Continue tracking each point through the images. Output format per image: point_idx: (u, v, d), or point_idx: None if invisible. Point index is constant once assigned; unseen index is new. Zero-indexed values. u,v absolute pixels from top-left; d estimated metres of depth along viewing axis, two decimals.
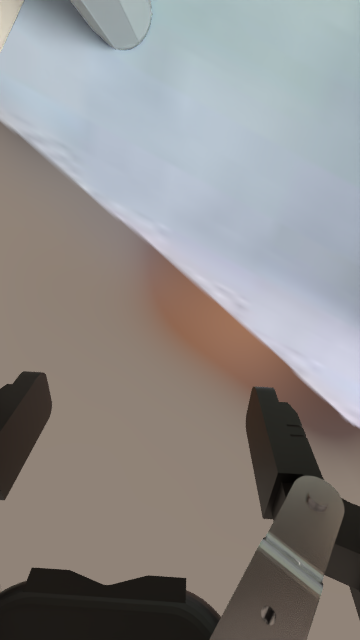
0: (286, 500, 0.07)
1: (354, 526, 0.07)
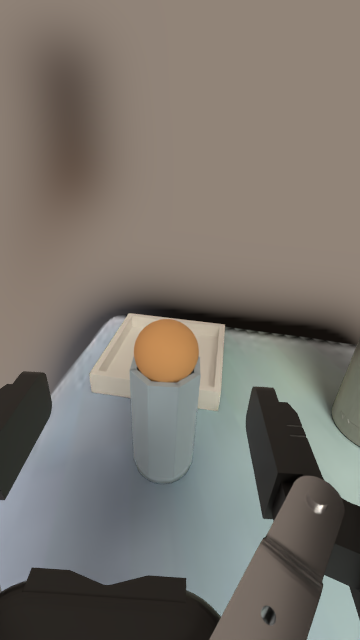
0: (286, 500, 0.07)
1: (354, 526, 0.07)
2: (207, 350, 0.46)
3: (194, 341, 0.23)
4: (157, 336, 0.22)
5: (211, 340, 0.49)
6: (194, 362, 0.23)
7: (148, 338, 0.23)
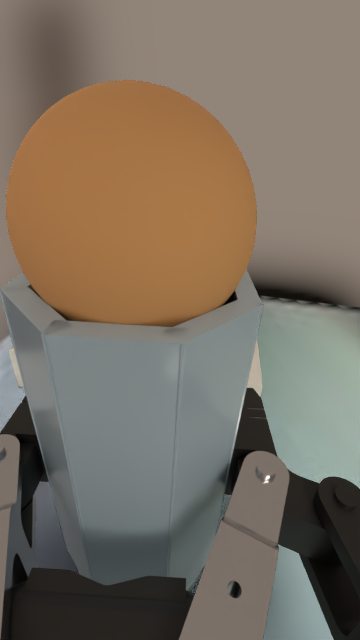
0: (239, 478, 0.08)
1: (299, 496, 0.08)
2: None
3: (245, 163, 0.06)
4: (83, 98, 0.05)
5: None
6: (246, 247, 0.06)
7: (45, 117, 0.05)
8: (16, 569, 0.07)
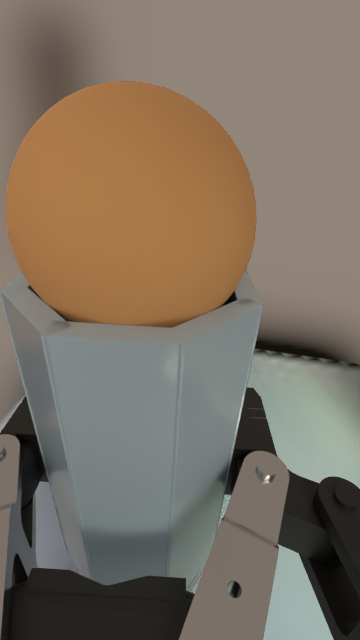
0: (238, 478, 0.08)
1: (299, 496, 0.08)
2: None
3: (244, 163, 0.06)
4: (83, 99, 0.05)
5: None
6: (246, 247, 0.06)
7: (45, 118, 0.05)
8: (16, 569, 0.07)
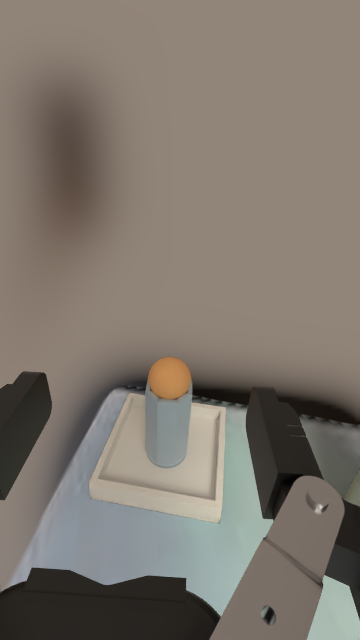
0: (286, 500, 0.07)
1: (354, 526, 0.07)
2: (208, 439, 0.46)
3: (187, 372, 0.36)
4: (164, 370, 0.35)
5: (212, 424, 0.48)
6: (188, 386, 0.36)
7: (158, 371, 0.35)
8: None
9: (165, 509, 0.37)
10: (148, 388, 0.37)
